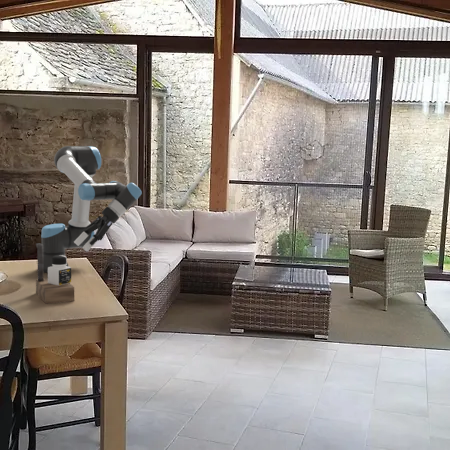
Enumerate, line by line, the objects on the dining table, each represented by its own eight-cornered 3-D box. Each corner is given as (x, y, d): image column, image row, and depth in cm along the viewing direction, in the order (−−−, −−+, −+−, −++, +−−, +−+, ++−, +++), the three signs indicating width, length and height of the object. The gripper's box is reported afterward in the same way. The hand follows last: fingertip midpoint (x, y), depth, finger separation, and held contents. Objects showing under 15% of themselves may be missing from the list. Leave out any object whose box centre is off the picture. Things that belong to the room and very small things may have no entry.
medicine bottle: (59, 286, 262) (58, 258, 260) (47, 283, 266) (47, 256, 264) (71, 282, 268) (71, 255, 266) (60, 280, 272) (59, 253, 270)
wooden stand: (35, 292, 273) (34, 243, 270) (62, 289, 279) (62, 242, 276) (45, 303, 256) (45, 251, 253) (74, 300, 262) (74, 250, 259)
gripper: (128, 221, 265) (94, 258, 260) (110, 213, 286) (78, 247, 281) (117, 209, 261) (82, 246, 256) (99, 202, 283) (66, 236, 278)
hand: (80, 247), depth 269 cm, fingers open, 13 cm apart
